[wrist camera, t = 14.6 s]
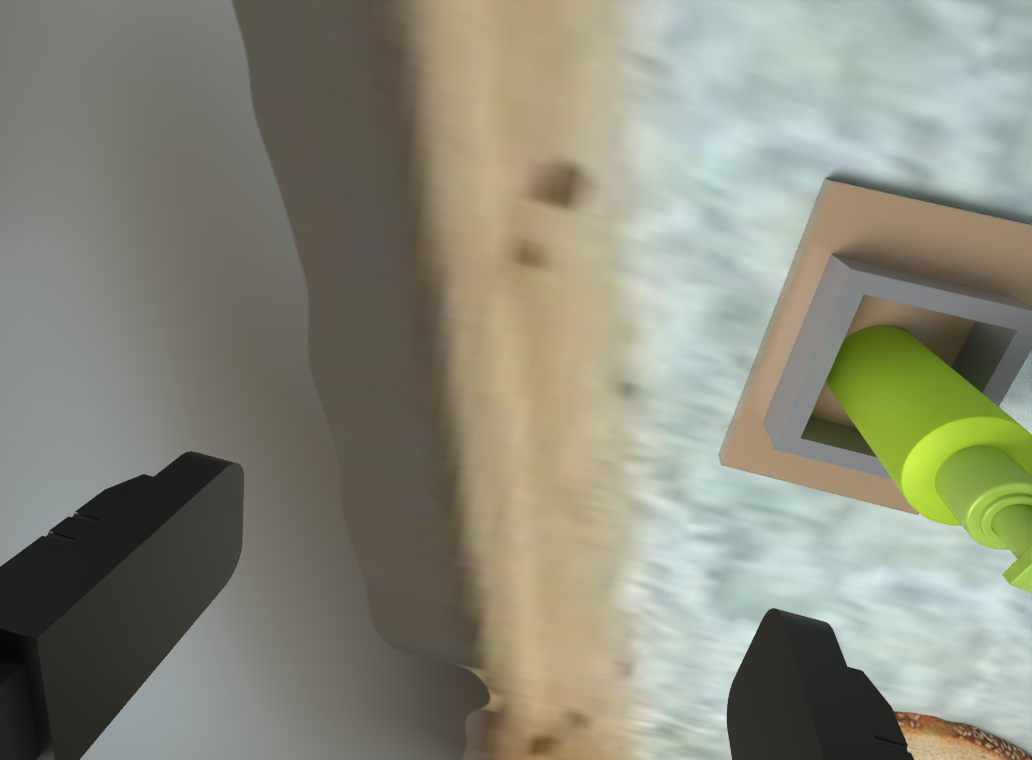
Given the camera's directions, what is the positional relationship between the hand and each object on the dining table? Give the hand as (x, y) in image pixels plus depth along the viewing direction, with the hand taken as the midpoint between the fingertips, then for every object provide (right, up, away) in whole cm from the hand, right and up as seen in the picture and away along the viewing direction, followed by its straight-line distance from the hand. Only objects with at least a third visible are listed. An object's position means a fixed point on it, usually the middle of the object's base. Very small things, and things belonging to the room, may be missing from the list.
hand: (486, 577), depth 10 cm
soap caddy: (+24, +5, +34) cm, 42 cm away
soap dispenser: (+24, +4, +32) cm, 40 cm away
